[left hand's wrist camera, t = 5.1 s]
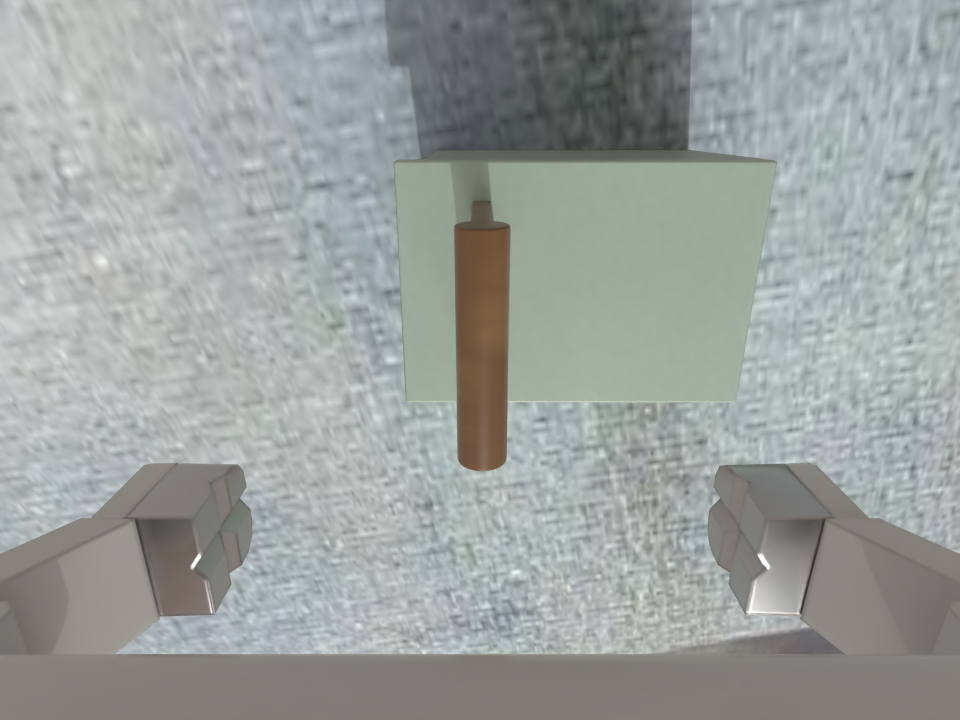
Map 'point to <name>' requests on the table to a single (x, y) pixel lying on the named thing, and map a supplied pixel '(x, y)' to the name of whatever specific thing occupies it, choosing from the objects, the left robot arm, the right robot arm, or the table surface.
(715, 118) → the table surface
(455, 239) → the lid
